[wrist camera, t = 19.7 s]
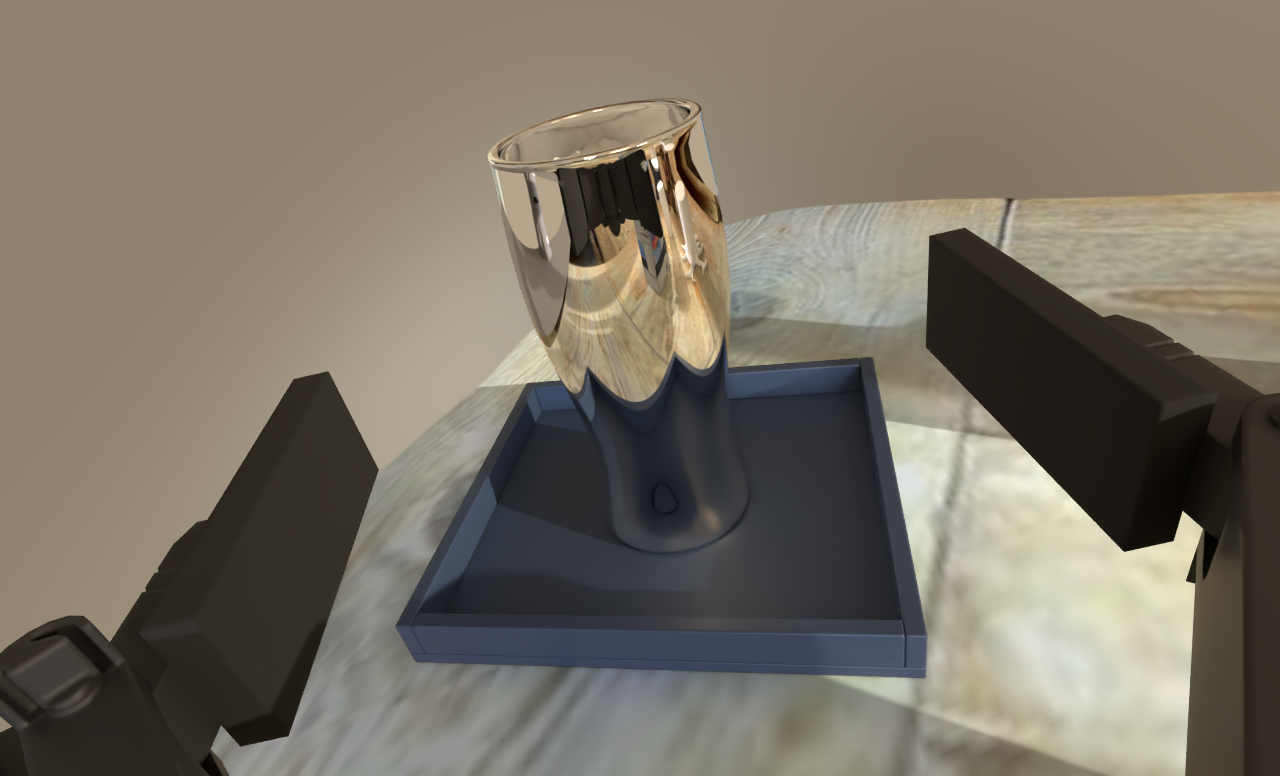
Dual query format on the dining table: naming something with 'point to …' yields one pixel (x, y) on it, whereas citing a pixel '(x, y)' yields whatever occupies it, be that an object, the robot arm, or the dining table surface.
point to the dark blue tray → (694, 579)
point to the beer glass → (632, 306)
